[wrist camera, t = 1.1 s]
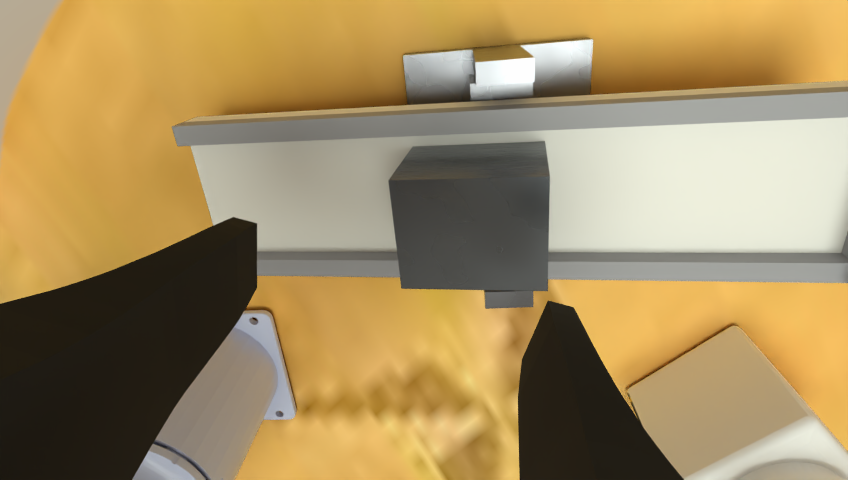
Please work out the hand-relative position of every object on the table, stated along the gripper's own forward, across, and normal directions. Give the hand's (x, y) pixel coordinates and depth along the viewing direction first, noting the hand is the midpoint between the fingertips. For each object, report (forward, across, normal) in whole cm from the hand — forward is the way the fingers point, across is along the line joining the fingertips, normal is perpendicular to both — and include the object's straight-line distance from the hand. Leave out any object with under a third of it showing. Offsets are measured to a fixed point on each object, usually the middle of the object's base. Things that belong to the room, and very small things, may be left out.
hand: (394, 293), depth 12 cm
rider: (+8, -2, +1) cm, 9 cm away
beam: (+11, -3, +1) cm, 12 cm away
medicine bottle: (+14, -18, +12) cm, 26 cm away
